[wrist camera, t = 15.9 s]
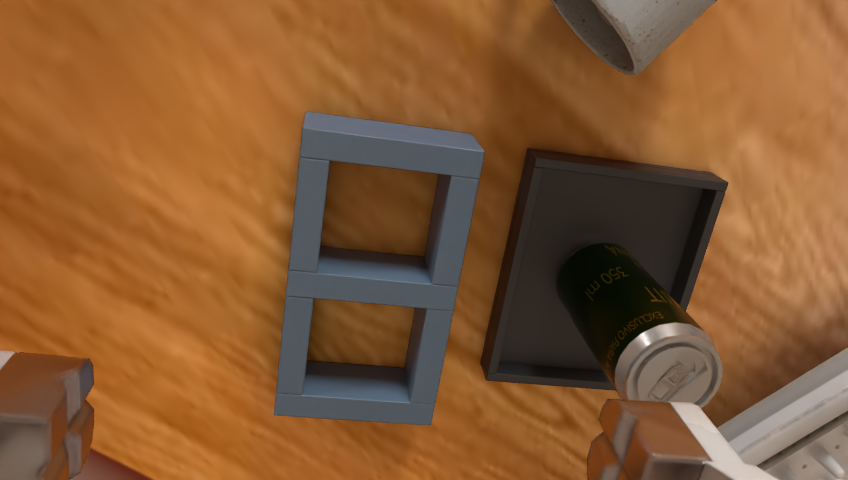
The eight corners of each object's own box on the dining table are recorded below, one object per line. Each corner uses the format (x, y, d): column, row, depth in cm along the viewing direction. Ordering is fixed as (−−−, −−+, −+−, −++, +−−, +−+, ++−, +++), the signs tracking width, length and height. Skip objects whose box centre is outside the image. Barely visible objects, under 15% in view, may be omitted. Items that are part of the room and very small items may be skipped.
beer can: (594, 327, 47) (672, 442, 36) (536, 285, 45) (599, 392, 34) (650, 267, 46) (749, 368, 35) (592, 222, 44) (677, 313, 33)
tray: (527, 147, 42) (536, 157, 41) (712, 172, 44) (729, 182, 43) (479, 363, 48) (485, 380, 46) (646, 376, 50) (658, 394, 48)
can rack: (305, 111, 40) (302, 127, 36) (472, 133, 42) (485, 151, 38) (278, 379, 47) (273, 415, 43) (424, 389, 48) (430, 425, 45)
